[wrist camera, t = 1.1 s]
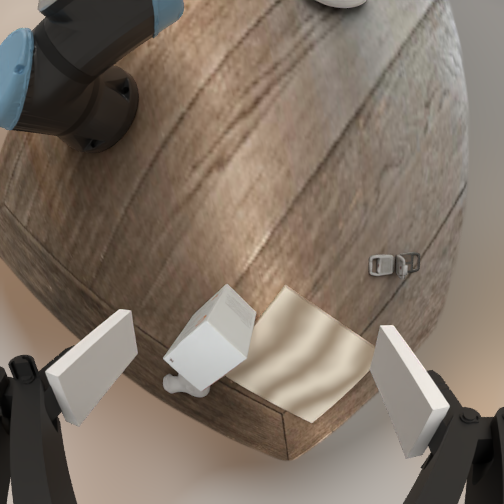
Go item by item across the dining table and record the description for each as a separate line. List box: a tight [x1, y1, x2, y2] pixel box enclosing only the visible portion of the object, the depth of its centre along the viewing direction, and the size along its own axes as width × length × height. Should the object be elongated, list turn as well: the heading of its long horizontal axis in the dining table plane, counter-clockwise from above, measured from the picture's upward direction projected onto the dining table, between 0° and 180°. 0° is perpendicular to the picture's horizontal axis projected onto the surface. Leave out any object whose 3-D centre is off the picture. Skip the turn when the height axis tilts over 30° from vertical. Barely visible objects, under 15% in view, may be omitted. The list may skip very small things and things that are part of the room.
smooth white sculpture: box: [163, 374, 210, 397], centre depth 44 cm, size 4×8×5 cm
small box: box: [163, 284, 256, 392], centre depth 36 cm, size 8×6×13 cm
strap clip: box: [369, 252, 420, 279], centre depth 37 cm, size 8×3×4 cm, turn 94°
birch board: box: [224, 285, 375, 423], centre depth 42 cm, size 20×18×1 cm
